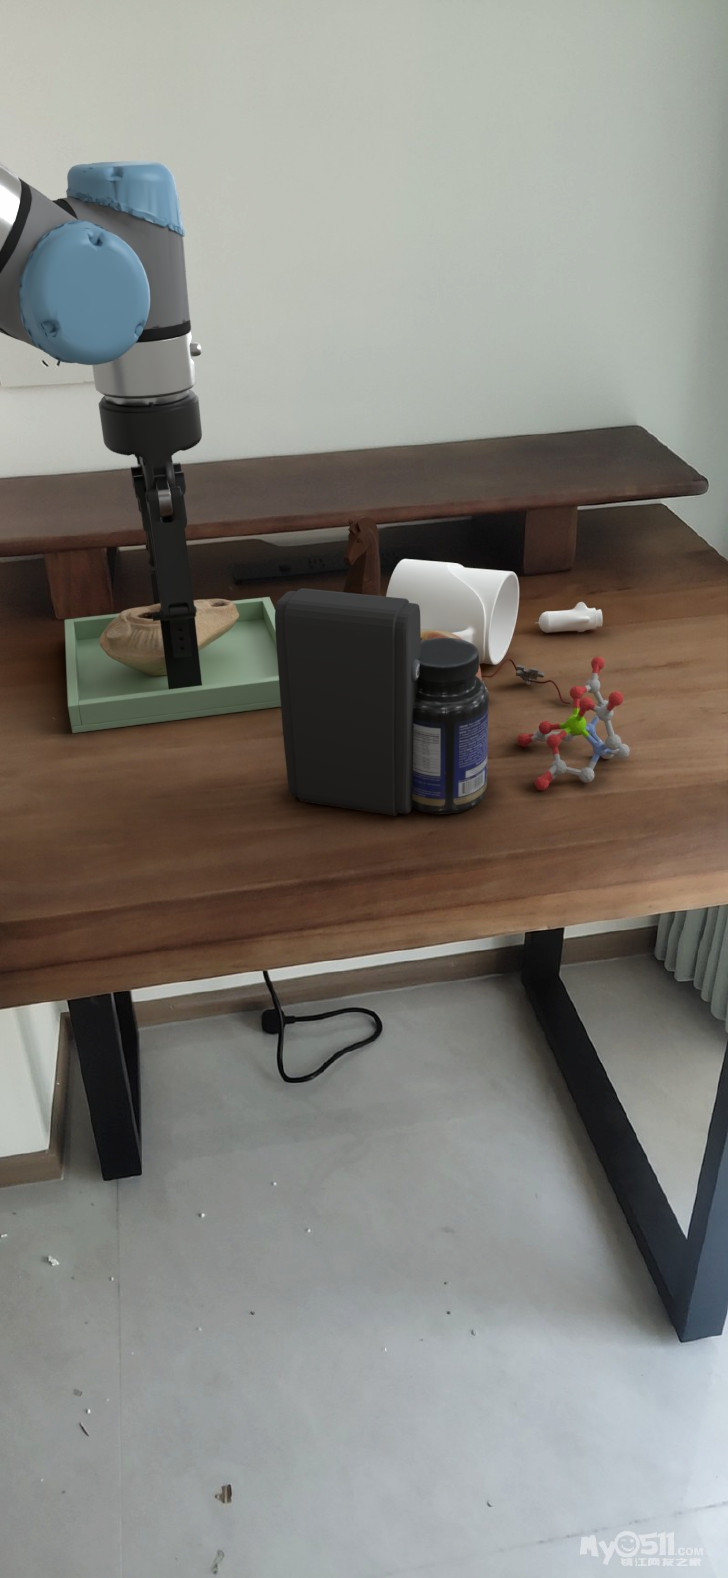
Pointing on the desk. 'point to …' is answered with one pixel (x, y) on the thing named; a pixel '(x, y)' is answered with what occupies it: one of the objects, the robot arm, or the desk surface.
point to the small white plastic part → (571, 619)
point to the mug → (461, 602)
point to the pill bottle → (449, 728)
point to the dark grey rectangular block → (348, 697)
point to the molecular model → (581, 730)
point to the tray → (125, 696)
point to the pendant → (528, 675)
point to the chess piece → (363, 558)
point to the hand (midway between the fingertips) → (179, 663)
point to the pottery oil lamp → (141, 637)
